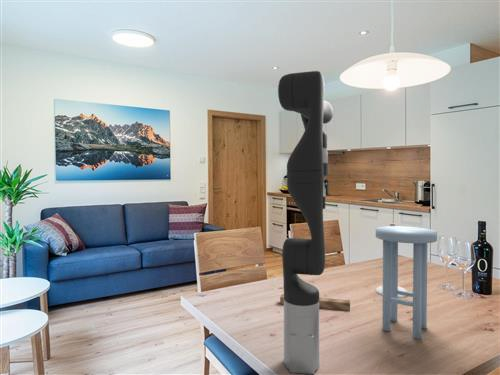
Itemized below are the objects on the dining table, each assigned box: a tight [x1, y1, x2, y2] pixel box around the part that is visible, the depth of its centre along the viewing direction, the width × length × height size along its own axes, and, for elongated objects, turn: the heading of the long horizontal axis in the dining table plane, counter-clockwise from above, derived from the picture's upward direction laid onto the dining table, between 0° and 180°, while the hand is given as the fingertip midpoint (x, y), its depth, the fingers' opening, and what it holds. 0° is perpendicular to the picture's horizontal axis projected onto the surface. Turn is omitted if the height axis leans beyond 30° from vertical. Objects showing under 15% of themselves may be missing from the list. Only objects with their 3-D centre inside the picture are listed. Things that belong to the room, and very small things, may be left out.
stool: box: [375, 225, 438, 340], centre depth 111 cm, size 18×18×32 cm
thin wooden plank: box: [279, 293, 351, 312], centre depth 131 cm, size 26×3×3 cm, turn 75°
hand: (316, 210), depth 116 cm, fingers open, 8 cm apart
